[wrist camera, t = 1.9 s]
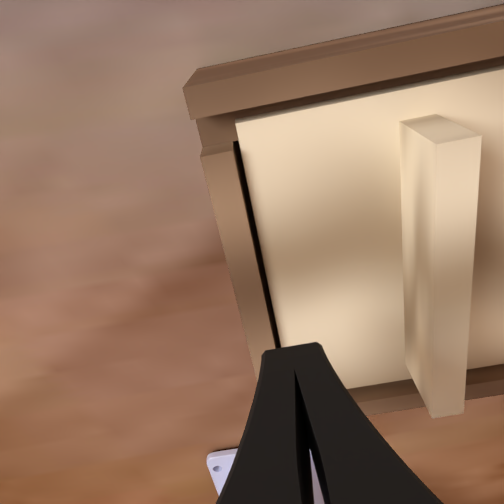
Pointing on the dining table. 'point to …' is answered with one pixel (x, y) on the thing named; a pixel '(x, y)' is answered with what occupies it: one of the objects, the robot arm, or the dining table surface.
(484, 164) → the lid
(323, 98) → the box
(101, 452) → the dining table surface
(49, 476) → the dining table surface
